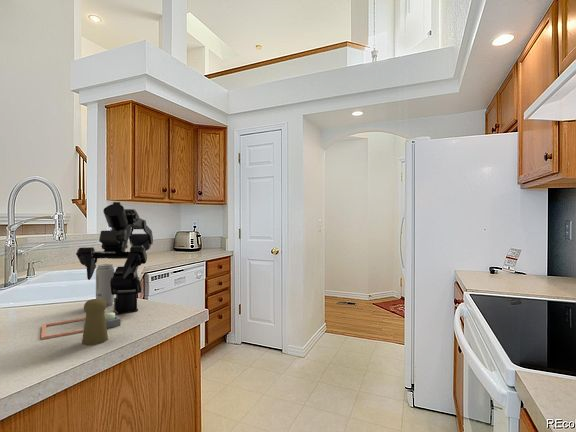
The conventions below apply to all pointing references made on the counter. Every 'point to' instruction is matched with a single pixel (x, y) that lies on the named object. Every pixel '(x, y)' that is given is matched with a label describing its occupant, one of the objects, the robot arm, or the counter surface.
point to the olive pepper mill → (95, 322)
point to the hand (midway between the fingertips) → (105, 278)
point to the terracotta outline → (44, 336)
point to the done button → (109, 316)
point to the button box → (113, 322)
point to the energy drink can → (104, 283)
